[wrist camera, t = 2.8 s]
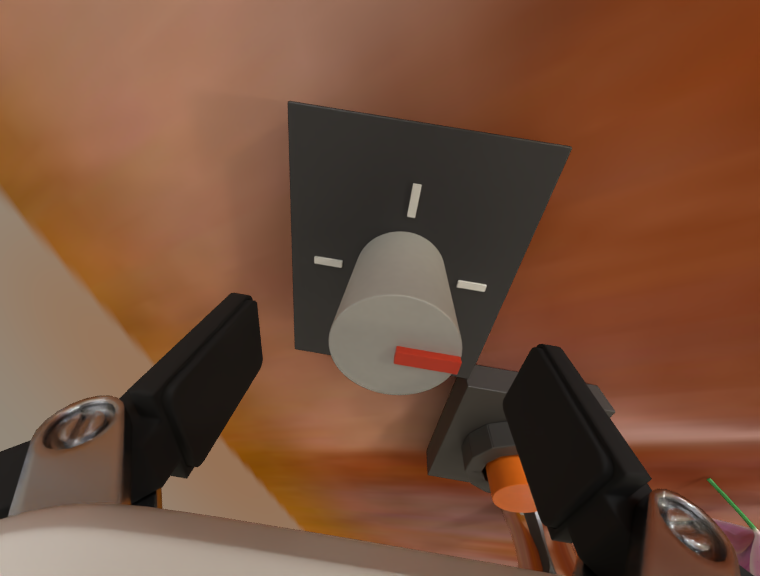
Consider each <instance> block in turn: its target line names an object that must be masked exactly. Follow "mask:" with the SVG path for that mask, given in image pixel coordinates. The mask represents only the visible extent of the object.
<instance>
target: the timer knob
mask: <svg viewBox="0 0 760 576" xmlns="http://www.w3.org/2000/svg"><path fill="white" fill-rule="evenodd" d="M329 349H330V353H331V356H332V359H333V361H334V362H335V364H336V366H337V367H338V368H339V370H340V371H341V372H342V373H343V374H344V375H345V376H346V377H348V378H349V379H350V380H351V381H353V382H354V383H356V384H358V385H360V386H362V387H364V388H366V389H369V390H371V391H375V392H378V393H383V394H390V395H409V394H416V393H420V392H424V391H427V390H430V389H432V388H434V387H436V386H438V385H439V384H441V383H443V382H444V381H445V380H446V379H448V378H449V377H450V375H451V374H456V375H457V374H458V371H459V369H460V367H461V364H462V361H461V355H462V340H461V335H460V331H459V327H458V322H457V318H456V314H455V309H454V305H453V301H452V296H451V292H450V288H449V283H448V279H447V275H446V270H445V266H444V262H443V259H442V256H441V254H440V253H439V251H438V250H437V248H436V247H435V246H434V245H433V244H432V243H431V242H430V241H428V240H427V239H425V238H423V237H422V236H420V235H417V234H414V233H410V232H402V231H399V232H389V233H386V234H383V235H380V236H378V237H376V238H375V239H373V240H372V241H370V242H369V243H368V244H367V245H366V246H365V247H364V248H363V250H362V251H361V253H360V255H359V257H358V259H357V262H356V265H355V267H354V270H353V272H352V275H351V277H350V280H349V283H348V285H347V288H346V290H345V293H344V295H343V298H342V301H341V303H340V306H339V308H338V311H337V313H336V316H335V319H334V321H333V324H332V326H331V329H330V332H329Z"/></svg>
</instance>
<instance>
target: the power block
mask: <svg viewBox="0 0 760 576" xmlns="http://www.w3.org/2000/svg"><path fill="white" fill-rule="evenodd" d="M517 374H518V372H514V371H508V370H503V369H497V368H491V367H485V366H479V365H475V367H474V369H473V371H472V373H471V375H470V378H469V379H467V378H461V377H457V378H456V381H455V383H454V385H453V388H452V390H451V393H450V395H449V398H448V400H447V402H446V405H445V407H444V410H443V412H442V415H441V417H440V419H439V422H438V424H437V427H436V429H435V432H434V434H433V436H432V439H431V441H430V444H429V446H428V449H427V471H428V475H431V476H436V477H442V478H448V479H454V480H459V481H465V482H470V483H471V484H473V485H474V486H476V487H478V488H480V489H482V490H483V491H485V492H488V493H491V491H490V487H489V482H488V477H487V473H486V464H487V463H488V462H490V461H493V460H495V459H497V458H499V457H501V456H510V455H518V452H517V449H516V446H515V443H514V440H513V437H512V435H511V432H510V429H509V426H508V423H507V420H506V417H505V414H504V411H503V400H504V397H505V396H506V394H507V392H508V390H509V388H510V387H511V385H512V383H513V381H514V379H515V378H516V376H517ZM586 385H587V386H588V387H589V389H590V390H591V392H592V393H593V395H594V396H595V398H596V399H597V400H598V402H599V403H600V405H601V406H602V408H603V409H604V411H605V412H606V413H607V415H608V416H609V418H610V417H611V416H612V415H613V414H614V413H615V410H614V409H613V407H612V406H611V405H610V403H609V402H608V400H607V399H606V397H605V396H604V395H603V393H602V392H601V390H600V389H599V388H598V386H596V385H590V384H586Z"/></svg>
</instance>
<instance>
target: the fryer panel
mask: <svg viewBox="0 0 760 576" xmlns="http://www.w3.org/2000/svg"><path fill="white" fill-rule="evenodd" d="M288 130H289V165H290V199H291V233H292V267H293V302H294V336H295V349H298V350H304V351H309V352H315V353H321V354H327V355H331V353H330V349H329V332H330V329H331V326H332V324H333V321H334V319H335V316H336V313H337V311H338V308H339V306H340V303H341V301H342V298H343V295H344V293H345V290H346V288H347V285H348V283H349V280H350V277H351V275H352V272H353V270H354V267H355V265H356V262H357V259H358V257H359V255H360V253H361V251H362V250H363V248H364V247H365V246H366V245H367V244H368V243H369V242H370V241H372V240H373V239H375V238H376V237H378V236H380V235H383V234H386V233H389V232H399V231H402V232H410V233H414V234H417V235H420V236H422V237H423V238H425V239H427V240H428V241H430V242H431V243H432V244H433V245H434V246H435V247H436V248H437V250H438V251H439V253H440V254H441V256H442V259H443V262H444V266H445V270H446V275H447V279H448V283H449V288H450V292H451V296H452V301H453V305H454V309H455V314H456V318H457V322H458V327H459V331H460V335H461V340H462V355H461V361H462V364H461V367H460V369H459V371H458V374H457V375H456V374H451V375H450V376H455V377H461V378H467V379H469V378H470V375H471V373H472V371H473V369H474V367H475V364H476V362H477V360H478V358H479V355H480V353H481V351H482V349H483V346H484V344H485V342H486V340H487V337H488V335H489V333H490V331H491V329H492V326H493V324H494V322H495V320H496V317H497V315H498V313H499V311H500V308H501V306H502V304H503V302H504V299H505V297H506V295H507V293H508V291H509V288H510V286H511V284H512V282H513V279H514V277H515V275H516V273H517V270H518V268H519V266H520V264H521V261H522V259H523V257H524V255H525V253H526V250H527V248H528V246H529V244H530V241H531V239H532V237H533V235H534V232H535V230H536V228H537V226H538V223H539V221H540V219H541V217H542V214H543V212H544V210H545V208H546V206H547V203H548V201H549V199H550V197H551V194H552V192H553V190H554V188H555V185H556V183H557V181H558V179H559V176H560V174H561V172H562V170H563V168H564V165H565V163H566V161H567V159H568V156H569V154H570V152H571V150H572V147H571V146H565V145H559V144H553V143H547V142H540V141H534V140H528V139H522V138H516V137H509V136H503V135H497V134H491V133H485V132H479V131H472V130H466V129H460V128H454V127H448V126H442V125H435V124H429V123H423V122H417V121H411V120H405V119H398V118H392V117H386V116H380V115H374V114H367V113H361V112H355V111H349V110H343V109H337V108H330V107H324V106H318V105H312V104H306V103H300V102H293V101H288Z"/></svg>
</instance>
